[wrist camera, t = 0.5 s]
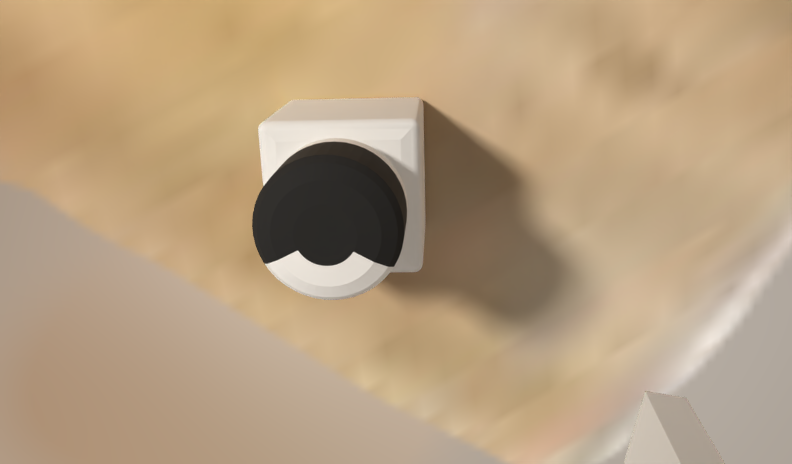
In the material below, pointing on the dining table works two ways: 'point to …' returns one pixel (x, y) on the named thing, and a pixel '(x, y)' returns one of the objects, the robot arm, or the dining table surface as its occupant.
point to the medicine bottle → (341, 193)
